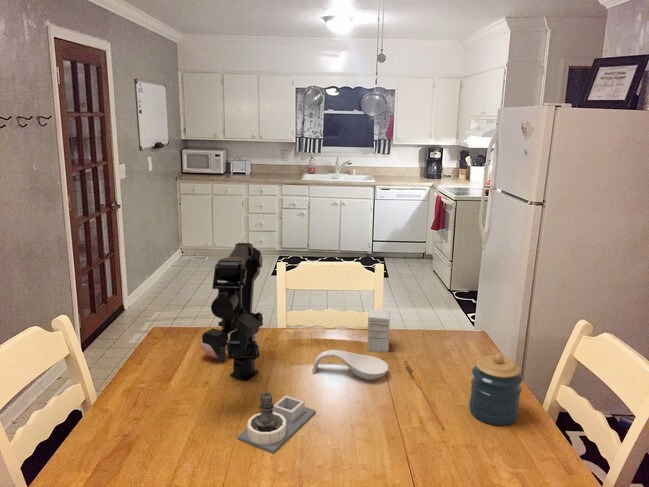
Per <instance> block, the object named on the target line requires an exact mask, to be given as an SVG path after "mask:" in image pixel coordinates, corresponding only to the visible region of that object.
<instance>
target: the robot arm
mask: <svg viewBox="0 0 649 487" xmlns="http://www.w3.org/2000/svg"><path fill="white" fill-rule="evenodd" d="M262 267H263V255H262V253H261V251H260V250H258V249H257V248H256V247H254V244H253V243H251V242H238V243H235V245H234V248H233V250H232V252H231V253H230V255H229V256H227V257H223V258H220V259H218V261H217V263H216V264H215V265H214V273H213V280H212V287H211V288H212V289H213V290H218V292H217V293H218V294H217V295H216V297H215V298H214V299H213V301H212V302H211V306H210V310H211V313H212V314H213V316H214V317H216V318H218V319H221V320H220V321H219V322H218V327H221V328H222V329H216V328H211V329H209V330H207V331H205V332H203V333H202V334H201V340H202V343H205V344H208V345H210V346H211V348H212V349H213V350H214V352H215V354H216V355H217V357H218V358H217V359H218V360H219V362H220V364H225V361H226V360H225V359H226V353H225V347H226V346H227V356H228V360H233V366H232V368H233V370H232V371H233V372H231V373H230V375H229V376H230V377H233V378H234V379H235V378H236V379H239V380H242V381H245V382H247V381H249V380H250V379H251V378H253V377H254V376H256V375H257V374H259V370H258V369H255V361H256V360H257V359H258V358H260V347H259V344H258V342H257V340H256V335H255V334H259V330H260V327H262V326H264V322H263V320H264V318H263V313H261V312H259V311H258V312H256V313H254V312H253V302H254V290H255V289H254V288H255V281H256V279H257V278H258V277H259V275H260V274H261V269H262ZM227 341H228V342H227Z"/></svg>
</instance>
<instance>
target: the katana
mask: <svg viewBox="0 0 649 487" xmlns="http://www.w3.org/2000/svg"><path fill="white" fill-rule="evenodd" d="M404 365H405V367H406V369H407V370H408V372H409V374H410V376H411V380H412V381H413V383H414V384H415V387H416V388H417V389H418V391H419V392H420V394H421V395H422V398H424V401H425V402H426V405H427V406H428V407H429V409H430V411H431V413H432V414H433V416H434V418H435V420H436V422H438V424H439V427H440V428H441V429H444V427H445V426H444V425H443V423H442V422H441V420H440V419H439V416H438V415H437V414H436V412H435V410H434V408H433V407H432V405H431V403H430V402H429V399H428V397H427V395H426V394H425V392H424V391H423V389H422V387H421V384H420V382H419V378H418V377H419V376H418V375H417V374H416V372H415V371H414V370H413V369H412V367H411V366H410V363H409V362H408V361H407V360H405V361H404Z"/></svg>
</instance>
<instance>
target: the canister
mask: <svg viewBox="0 0 649 487" xmlns="http://www.w3.org/2000/svg"><path fill="white" fill-rule="evenodd" d="M471 372H472V375H473V377H472V378H471V381H470V384H471V387H470V388H471V390H470V398H469V401H468V402H469V403H468V407H469V410H470V411H469V412H470V414H471V415H472V416H473V417H474V418H476V419H477V420H478V421H480V422H483V423H485V424H487V425H488V424H489V425H492V426H493V425H494V426H507V425H511V424H513V423H515V422H516V421H517V418H518V416H519V414H520V413H519V412H520V408H519V405H520V398H521V392H522V387H521V385H520V384H522V382H523V380H524V379H523V375H522V374H521V368H520V366H519V365H518V364H517V363H516V362H514V360H512V359H510V358H508V357H506V356H503V354H501V353H495V354H494V355H493V354H492V355H491V354H490V355H486V356H483V357H481V358H478V359H477V361H476V362H475V365H474V367H472V370H471Z"/></svg>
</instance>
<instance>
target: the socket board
mask: <svg viewBox="0 0 649 487" xmlns="http://www.w3.org/2000/svg"><path fill="white" fill-rule="evenodd" d="M273 405H274V408H273V414H274V415H276V416H277V417H278V423H277V425H276V427H275V428H276V429H277V430H274V431H271V432H260V431H257V430H258V427H257V425H256V423H255V419H256V418H257V417H258V416H259V415H261V412H259V413H255V414H253V415H252V416H251V417H249V418H248V420H247V424H246V429H245V430H244V431H242V432H241V433H240V434H239V435H237V440H239V441H241V442H244V443H247V445H251V446H254V447H256V448H258V449H262V450H264V451H266V452H268V453H272V454H275V453H276V452H277V451H278V450H279V449H280V448H281V447H282V446H283V445H284V444H285V443H286V442H287V441H288V440H289V439H290V438H291V437H292V436H293V435H295V433H296V432H298V431H299V429H301V428H302V427H303V426H304V425H305V424H306V423H307V422H308V421H309V420H310V419H311V418H312V417H313V416H314V415H315V414H317V413H316V412H317V411H316V410H315V409H313V408H310V407H307V406H306V402H305V401H304V400H302V399H298V398H296V397H292V396H289V395H284V396H283V397H282V398H280V399H279V400H278V401H276V403H275V404H273Z"/></svg>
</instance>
